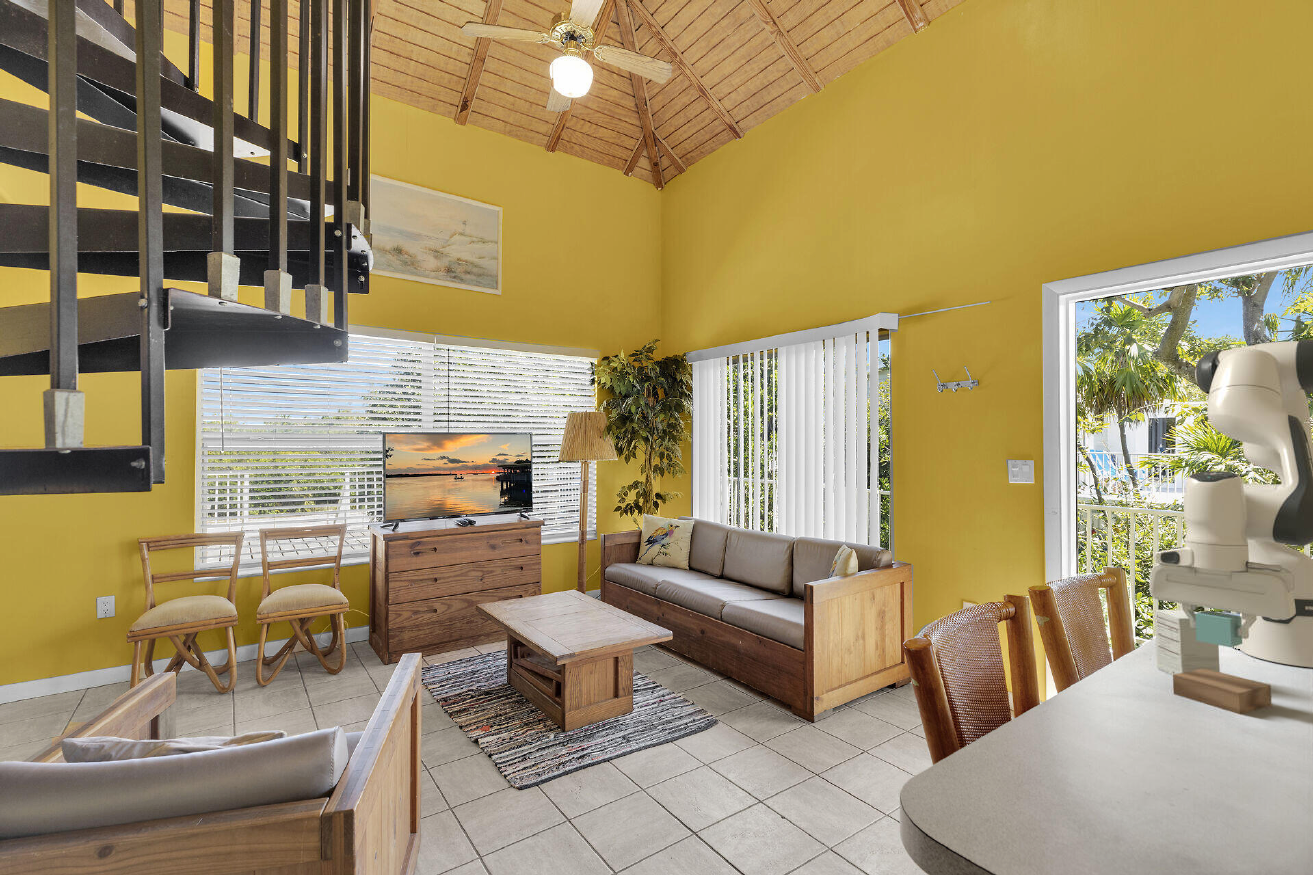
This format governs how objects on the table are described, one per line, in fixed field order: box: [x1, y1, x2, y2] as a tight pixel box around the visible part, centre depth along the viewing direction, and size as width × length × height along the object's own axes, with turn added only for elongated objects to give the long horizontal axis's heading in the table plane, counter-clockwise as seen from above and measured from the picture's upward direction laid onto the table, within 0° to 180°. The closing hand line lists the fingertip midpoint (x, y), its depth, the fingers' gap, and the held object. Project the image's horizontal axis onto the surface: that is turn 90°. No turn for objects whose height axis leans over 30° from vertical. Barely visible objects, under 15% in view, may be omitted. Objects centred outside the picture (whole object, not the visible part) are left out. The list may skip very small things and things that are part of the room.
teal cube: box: [1195, 610, 1242, 648], centre depth 114 cm, size 5×5×5 cm
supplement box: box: [1154, 609, 1221, 677], centre depth 127 cm, size 7×7×13 cm
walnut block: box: [1172, 668, 1272, 715], centre depth 113 cm, size 10×10×4 cm
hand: (1218, 633), depth 114 cm, fingers closed on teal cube, 5 cm apart
